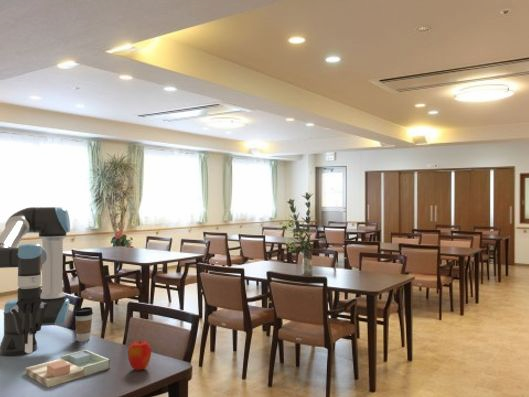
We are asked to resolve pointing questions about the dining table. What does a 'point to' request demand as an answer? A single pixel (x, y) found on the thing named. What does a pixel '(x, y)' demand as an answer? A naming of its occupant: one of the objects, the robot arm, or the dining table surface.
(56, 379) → the light wooden slatted rack
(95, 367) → the box
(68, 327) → the dining table surface
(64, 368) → the tile terracotta
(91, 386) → the dining table surface
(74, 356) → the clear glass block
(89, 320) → the coffee cup
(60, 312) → the robot arm
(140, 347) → the apple
